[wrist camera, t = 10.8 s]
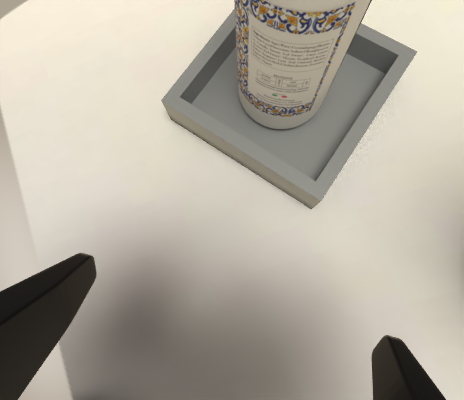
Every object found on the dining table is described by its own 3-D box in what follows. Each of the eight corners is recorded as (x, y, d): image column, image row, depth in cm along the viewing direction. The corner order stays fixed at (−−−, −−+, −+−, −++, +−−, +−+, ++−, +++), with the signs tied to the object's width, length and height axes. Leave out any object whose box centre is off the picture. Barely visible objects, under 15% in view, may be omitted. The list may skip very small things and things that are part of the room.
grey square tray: (311, 209, 23) (321, 201, 20) (171, 119, 25) (161, 100, 22) (397, 76, 25) (417, 51, 22) (260, 4, 27) (262, -27, 24)
